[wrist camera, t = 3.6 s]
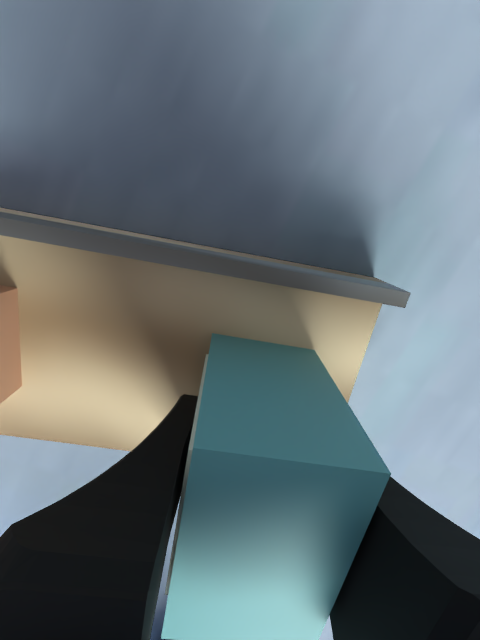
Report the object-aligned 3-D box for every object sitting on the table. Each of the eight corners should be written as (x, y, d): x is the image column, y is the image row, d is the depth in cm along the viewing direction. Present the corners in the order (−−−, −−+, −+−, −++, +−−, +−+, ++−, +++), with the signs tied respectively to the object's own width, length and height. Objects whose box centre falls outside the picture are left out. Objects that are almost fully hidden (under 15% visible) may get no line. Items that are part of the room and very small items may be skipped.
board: (315, 456, 15) (331, 503, 13) (-52, 407, 14) (-115, 449, 11) (374, 277, 12) (410, 293, 10) (-82, 192, 11) (-175, 185, 8)
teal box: (314, 349, 12) (390, 473, 6) (279, 470, 14) (313, 650, 8) (209, 332, 11) (188, 447, 6) (188, 458, 13) (157, 638, 8)
